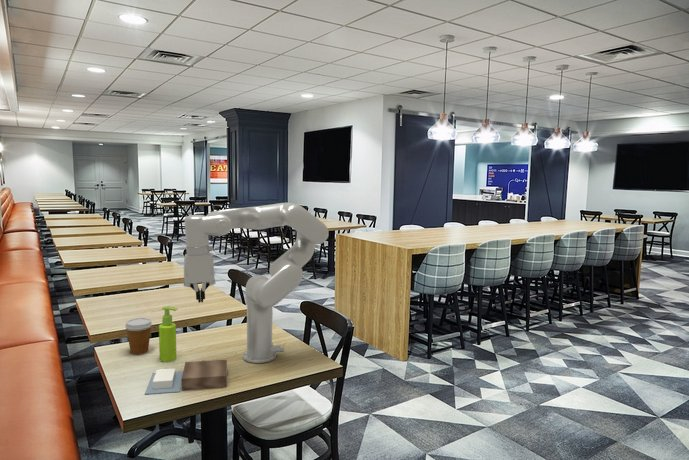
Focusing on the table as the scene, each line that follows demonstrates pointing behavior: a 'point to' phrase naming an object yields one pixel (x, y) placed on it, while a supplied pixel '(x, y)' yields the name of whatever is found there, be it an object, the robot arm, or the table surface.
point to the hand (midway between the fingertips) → (200, 301)
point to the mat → (174, 389)
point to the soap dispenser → (167, 336)
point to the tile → (164, 378)
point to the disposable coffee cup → (138, 335)
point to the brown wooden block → (204, 374)
